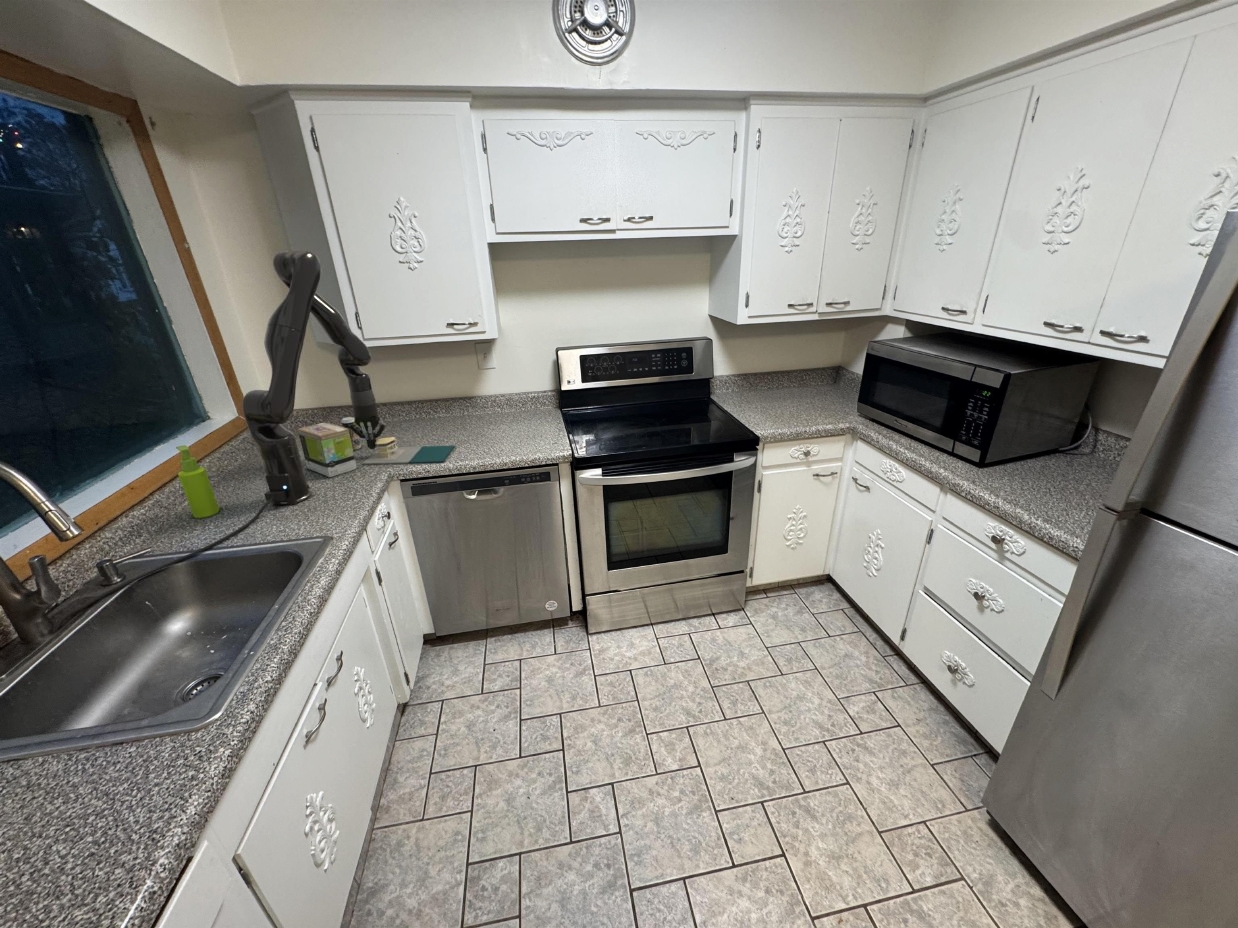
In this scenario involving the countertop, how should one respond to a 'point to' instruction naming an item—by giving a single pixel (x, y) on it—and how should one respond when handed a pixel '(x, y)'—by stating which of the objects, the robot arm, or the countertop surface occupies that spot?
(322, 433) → the tea box
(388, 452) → the stacked layers on plate
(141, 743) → the countertop surface
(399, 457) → the board
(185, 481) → the soap dispenser
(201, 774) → the countertop surface
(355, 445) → the beer can
